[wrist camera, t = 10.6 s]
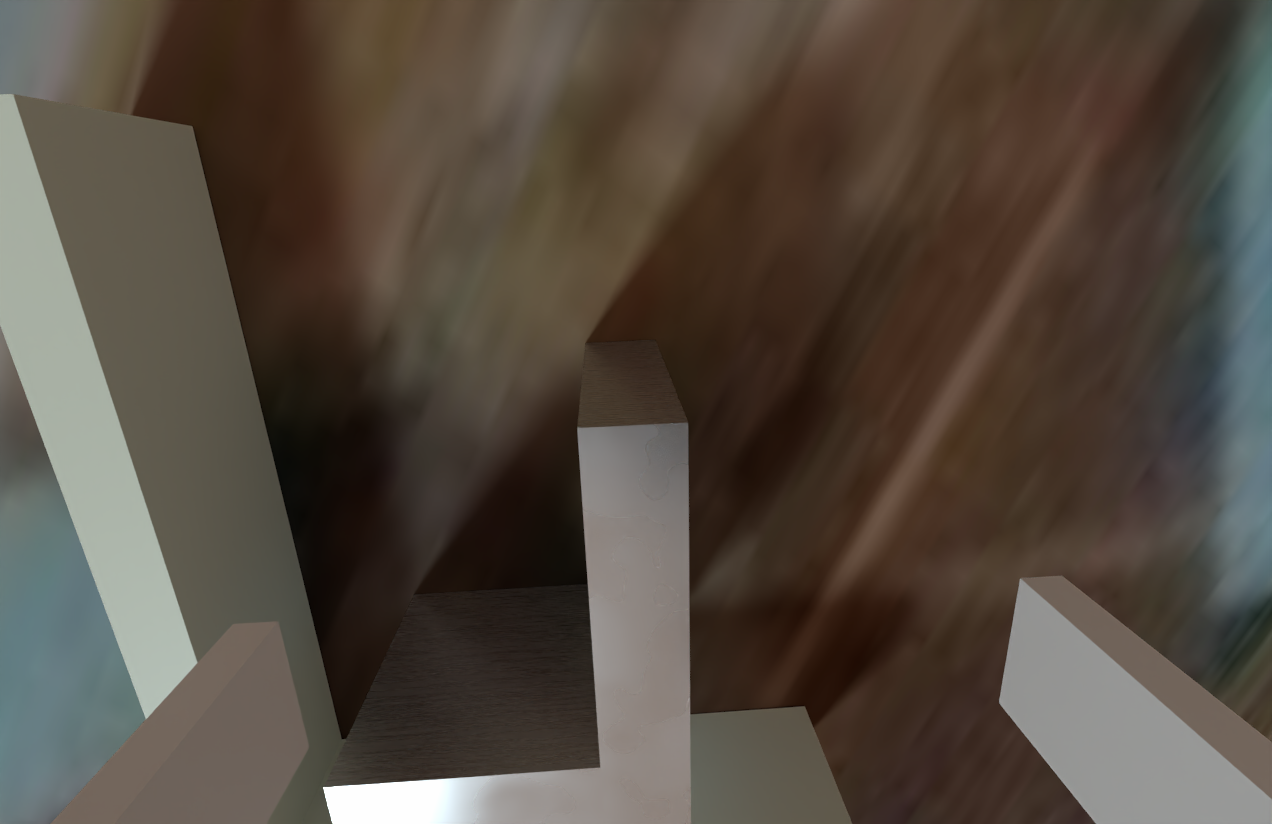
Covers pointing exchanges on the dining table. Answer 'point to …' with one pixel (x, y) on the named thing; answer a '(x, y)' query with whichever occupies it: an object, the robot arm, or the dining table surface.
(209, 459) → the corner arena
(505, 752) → the bracket
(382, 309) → the dining table surface
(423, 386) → the dining table surface
